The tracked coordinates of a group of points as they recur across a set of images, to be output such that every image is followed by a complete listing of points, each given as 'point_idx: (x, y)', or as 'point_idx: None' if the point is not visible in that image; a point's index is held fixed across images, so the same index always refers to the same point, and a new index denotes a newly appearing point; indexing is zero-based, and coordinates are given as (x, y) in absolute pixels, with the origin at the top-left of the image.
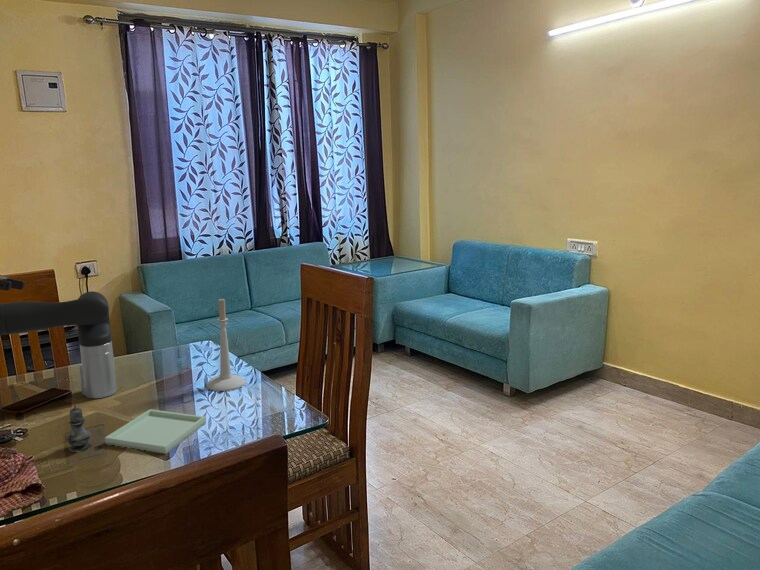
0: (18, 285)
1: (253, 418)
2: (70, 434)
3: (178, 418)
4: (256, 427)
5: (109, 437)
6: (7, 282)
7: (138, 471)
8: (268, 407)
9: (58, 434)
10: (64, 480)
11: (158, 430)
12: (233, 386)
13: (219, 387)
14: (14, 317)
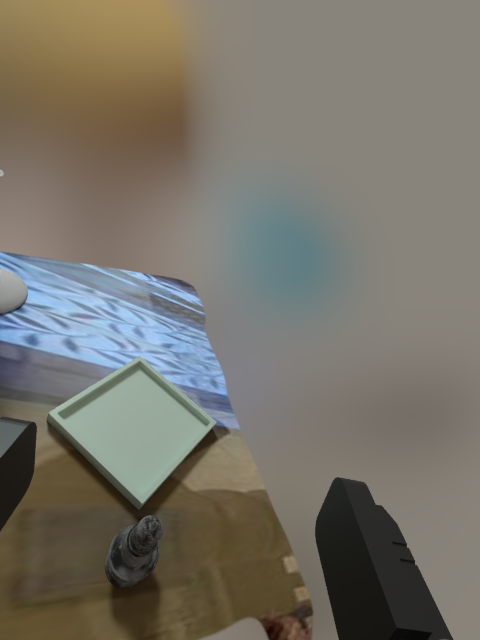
0: (10, 482)
1: (153, 320)
2: (138, 566)
3: (106, 386)
4: (180, 328)
5: (146, 495)
6: (366, 499)
7: (249, 468)
8: (128, 296)
9: (10, 629)
10: (248, 581)
11: (138, 420)
12: (24, 289)
13: (12, 302)
14: None
